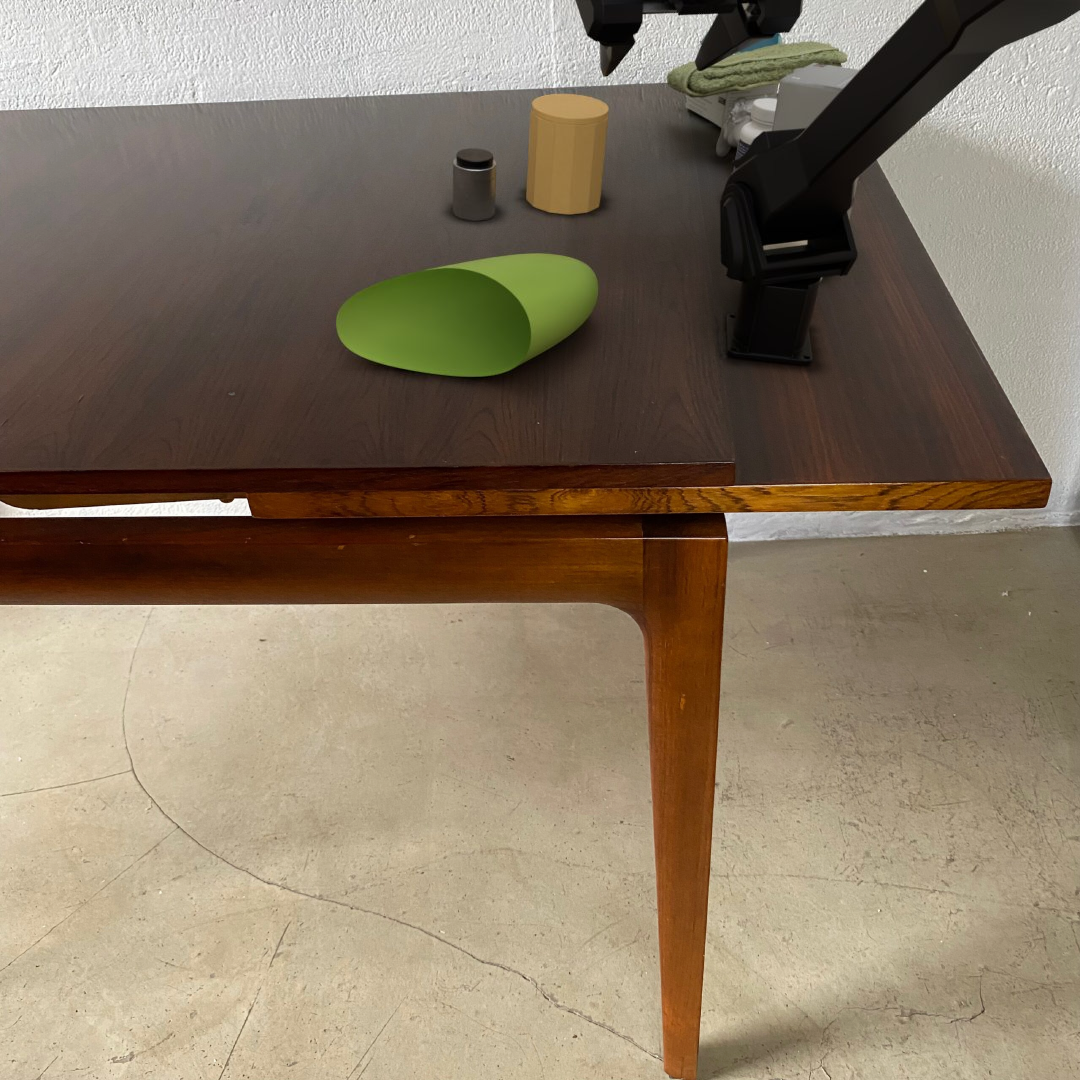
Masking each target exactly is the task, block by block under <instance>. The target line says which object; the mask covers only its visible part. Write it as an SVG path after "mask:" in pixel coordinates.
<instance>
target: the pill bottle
mask: <svg viewBox="0 0 1080 1080" xmlns="http://www.w3.org/2000/svg"><path fill="white" fill-rule="evenodd" d="M776 103H777V99H771V98H762V99H757V100H755V101H754V102H753V106H752V111H751V118H752V122H749V123H747V124H746V125H744V126H743V128H742V129H741V132H740V137H739V143H738V149H736V155H735V160H736V159H739V158H740V157H742V156H743V155H744V154H745V153H746V151H747V150H748V148H749V146H750V145H751V143H752V141H753V140H754V139H755V138H756V137H757V136H758V135H759V134H761V133H762V132H763V131H772V128H773V122H774V116H775V110H776ZM734 170H736V168H735V167H734V166H733V171H734Z"/></svg>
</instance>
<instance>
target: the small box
mask: <svg viewBox="0 0 1080 1080" xmlns="http://www.w3.org/2000/svg"><path fill="white" fill-rule="evenodd" d="M779 85H780V83H775V84H772V85H763V86H760V87H755V88H749V89H747V90H745V91H731V92H728V93H723V94H719V95H712V96H707V97H703V98H700V97H697V98H693V97H690V96H686V99H685V109H687V110H690V111H692V112H694V113H696V114H698V115H699V116H701V117H702V118H704V119H706V120H708V121H710V122H712V123H713V124H715V125H716V126H718V127H719V128H722V126H723V125H724V124H725V123H726V122H727V120H728V117H729V116H731V115H730V113H729V112H730V111H731V112H732V110H733V108H732V105H733V102H734V101H735V100H737V99H738V98H742V97H745V98H746V99H747V100H748V101H749V100H753V99H757V98H758V96H761V97H763V96H764V95H767V96H768V97H773V96H778V91H779ZM686 101H687V102H686Z"/></svg>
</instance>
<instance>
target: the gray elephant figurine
mask: <svg viewBox="0 0 1080 1080" xmlns="http://www.w3.org/2000/svg"><path fill="white" fill-rule="evenodd" d="M777 97H778V95H776V96H773V97H768V96H767V95H764V96H763V97H761V96H758V98H757V99H762V98H771V99H777ZM757 99H753V100H749V101H748V100H747V99H746V98H745V97H742V98H738V99H737V100H735V101H734V102H733V105H732V108H733V110H732V112H731V111H730V112H729V113H730V115H731V116H729V117H728V120H727V122H726V123H725V124H724V125H723V126H722V128H721V127H720V128H721V129H720V134H719V136H718V139H717V142H716V148H715V153H716V155H717V156H718V157H725V156H726V155H727V154H728V153H729V152H730V150H731V146H735V147H738V143H739V137H740V132H741V129H742V128H743V126H744V125H746V124H747V123H749V122H752V118H751V111H752V106H753V102H754V101H755V100H757Z"/></svg>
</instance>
